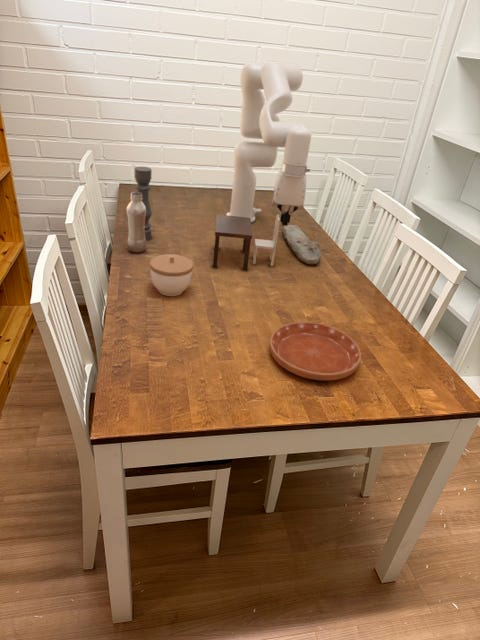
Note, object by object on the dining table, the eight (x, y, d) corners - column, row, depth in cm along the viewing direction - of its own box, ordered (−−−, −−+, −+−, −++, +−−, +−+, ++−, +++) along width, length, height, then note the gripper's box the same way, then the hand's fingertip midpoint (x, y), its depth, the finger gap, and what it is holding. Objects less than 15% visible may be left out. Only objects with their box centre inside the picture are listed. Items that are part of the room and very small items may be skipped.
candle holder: (154, 236, 177) (155, 168, 164) (146, 242, 172) (146, 172, 159) (139, 233, 178) (139, 165, 165) (130, 238, 173) (130, 168, 160)
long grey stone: (299, 233, 200) (276, 234, 198) (301, 221, 197) (277, 221, 195) (326, 266, 170) (299, 266, 168) (328, 252, 167) (301, 252, 165)
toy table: (246, 251, 175) (250, 217, 168) (247, 271, 160) (252, 235, 154) (214, 247, 174) (217, 214, 167) (212, 267, 159) (215, 231, 153)
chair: (271, 259, 171) (278, 214, 162) (272, 266, 165) (280, 220, 157) (252, 257, 170) (258, 212, 161) (252, 264, 165) (259, 218, 156)
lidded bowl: (174, 277, 151) (175, 244, 145) (200, 293, 143) (202, 259, 138) (140, 287, 142) (140, 253, 137) (166, 305, 135) (167, 270, 130)
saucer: (295, 394, 108) (298, 381, 106) (253, 339, 125) (255, 327, 123) (376, 376, 117) (380, 364, 115) (326, 327, 134) (329, 316, 132)
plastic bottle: (150, 250, 166) (150, 193, 156) (138, 256, 161) (138, 198, 150) (134, 245, 168) (134, 189, 158) (123, 251, 163) (121, 193, 152)
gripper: (314, 169, 155) (304, 222, 164) (269, 164, 154) (261, 218, 163) (318, 175, 148) (307, 230, 158) (271, 169, 147) (263, 226, 157)
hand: (284, 224), depth 161 cm, fingers closed
